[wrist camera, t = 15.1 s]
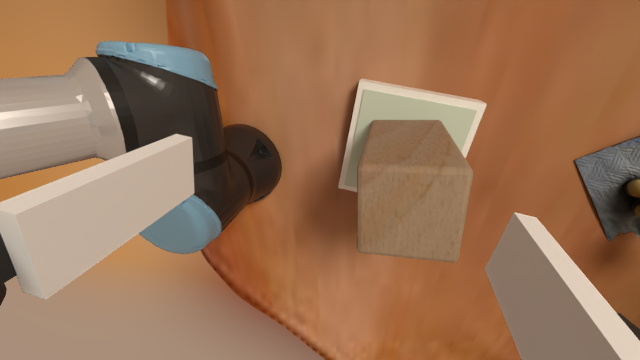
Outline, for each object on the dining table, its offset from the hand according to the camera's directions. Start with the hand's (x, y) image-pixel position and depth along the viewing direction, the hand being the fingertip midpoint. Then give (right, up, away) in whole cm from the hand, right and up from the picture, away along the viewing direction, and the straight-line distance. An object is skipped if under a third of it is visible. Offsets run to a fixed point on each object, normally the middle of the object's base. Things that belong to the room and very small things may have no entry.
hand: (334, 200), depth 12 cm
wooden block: (+12, +5, +34) cm, 36 cm away
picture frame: (+13, +7, +37) cm, 40 cm away
